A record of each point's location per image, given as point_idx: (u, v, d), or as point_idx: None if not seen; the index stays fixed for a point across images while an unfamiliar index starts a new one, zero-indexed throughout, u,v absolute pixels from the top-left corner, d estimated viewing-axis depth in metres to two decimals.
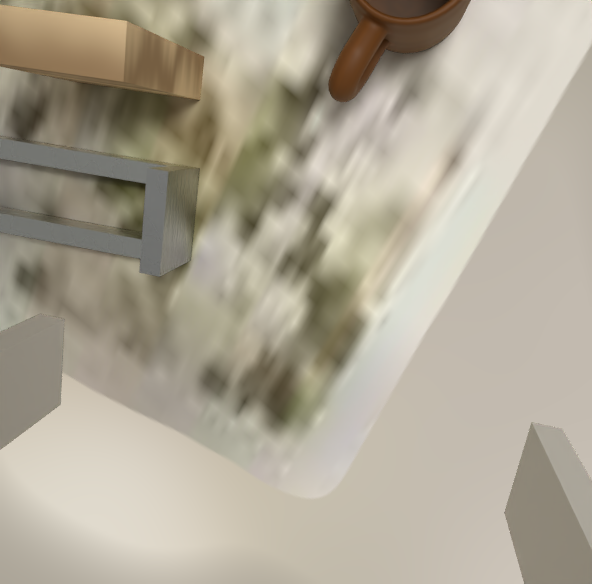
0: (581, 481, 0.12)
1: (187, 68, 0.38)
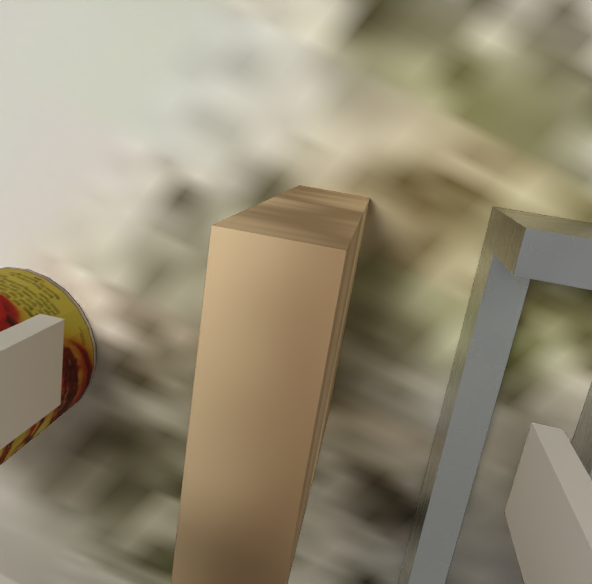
0: (581, 481, 0.12)
1: (317, 196, 0.21)
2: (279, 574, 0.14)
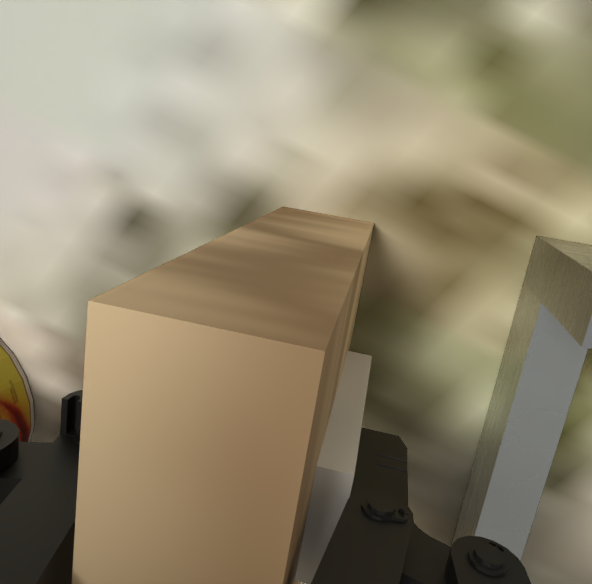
0: (357, 387, 0.15)
1: (303, 224, 0.15)
2: None
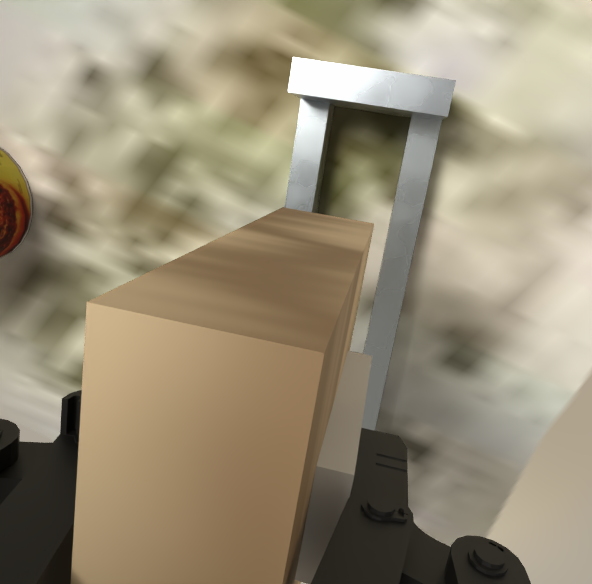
0: (357, 386, 0.15)
1: (302, 225, 0.15)
2: None
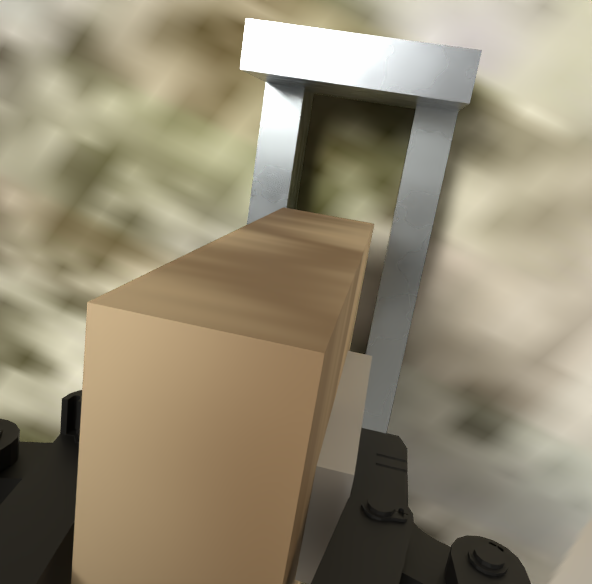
0: (357, 386, 0.15)
1: (303, 225, 0.15)
2: None
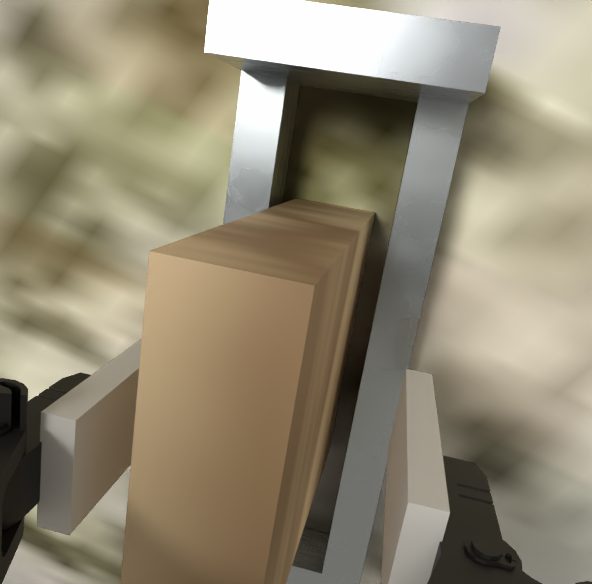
0: (426, 409, 0.14)
1: (312, 211, 0.18)
2: None
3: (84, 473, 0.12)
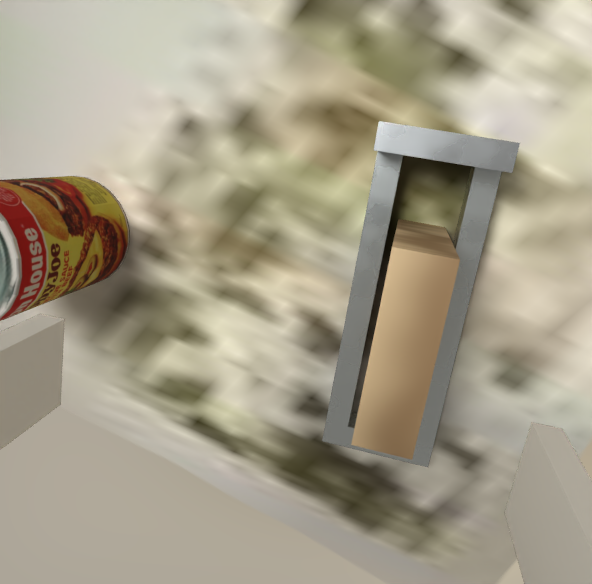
0: (581, 481, 0.12)
1: (417, 227, 0.34)
2: (414, 432, 0.27)
3: None
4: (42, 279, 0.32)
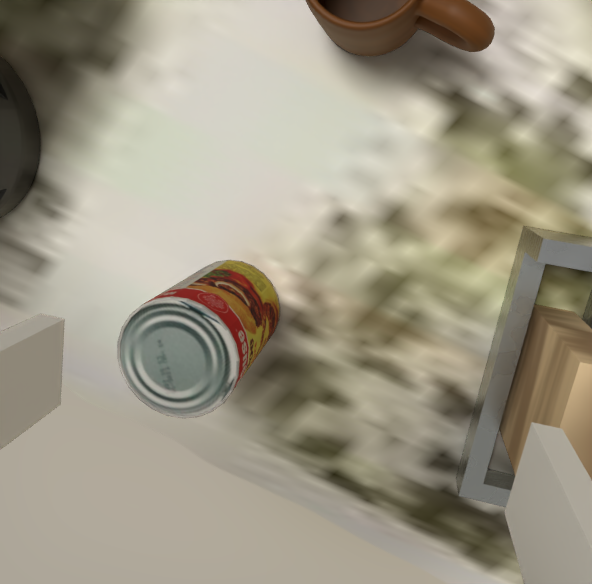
0: (581, 481, 0.12)
1: (558, 318, 0.39)
2: None
3: None
4: (244, 371, 0.36)
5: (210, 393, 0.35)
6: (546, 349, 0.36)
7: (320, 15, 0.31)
